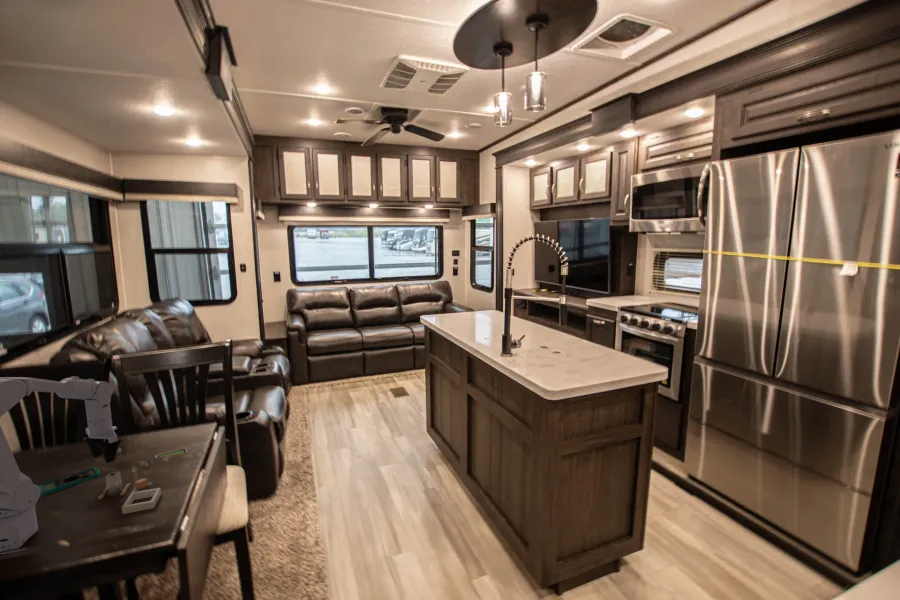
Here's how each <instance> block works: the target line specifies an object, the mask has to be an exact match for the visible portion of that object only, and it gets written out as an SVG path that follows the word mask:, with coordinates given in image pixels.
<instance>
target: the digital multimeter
mask: <svg viewBox="0 0 900 600" xmlns="http://www.w3.org/2000/svg"><path fill="white" fill-rule="evenodd" d="M100 476H101V470H100V468H97V467H90V468H88V469H84V470H82V471H78V472H75V473H72V474H70V475H66V476H63V477H60V478H57V479H54V480H50V481H46V482H43V483H40V484H39V485H37V486H38V487H39V488H40V490H41V494H40V497H39V499H42V498H43V497H44V496H48V495H51V494H53V493H55V492H60V491H62V490H65V489H67V488H70V487H73V486H77V485H78V484H80V483H83V482H85V481H88V480H89V481H90V480H92V479H95V478H97V477H100Z"/></svg>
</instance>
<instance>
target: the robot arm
mask: <svg viewBox="0 0 900 600" xmlns="http://www.w3.org/2000/svg"><path fill="white" fill-rule="evenodd" d="M32 392H38V393H39V392H41V393H55V394H56V395H57V397H59V398H62V399H72V400H73V399H75V400H82V401H84V406H85V414H86V415H85V416H86V421H87V423H86V424H87V427H86V428H85V434H86V435H87V436H84V437H82V441H83V442H84V443H85V444H86V446H87V447H88V449H89V450H90V453H91V455H92V457H93V458H95V459H96V458H99V457H100V456H102V455H103V459H104V461H105V463H106V464H109V463H111V462H115V460H116V459H117V458H116V457H117V452H118V448H119V446H120V444H121V442H122V440H123V439H122V438H121V437H118V435H117V434H116V432H115V430H118V427H117V426H116V425H115V426H113V420H112V411H111V404H110V403H111V402H112V398H111V397H112V395H113V393H114V387H112V385H111V384H110V383H109V382H108V381H104V380H103V381H101V380H100V381H99V380H95V379H94V378H87V379H84V378H80V377H79V376H75V375H74V376H72V375H71V376H70V377H66V378H63V379H61V380H60V381H58V380H57V381H56V380H52V379H51V380H50V379H42V378H36V377H23V376H19V377H18V376H17V377H16V376H14V377H12V376H11V377H9V376H5V377H3V376H2V377H1V376H0V418H1V417H2V416H4V415H5V414H7V412H9V411H10V410H11V409H12V408H13V407H14V406H15V405H17V404H18V403H19V402H20V401H22V399H23V398H24V397H26V396H27V397H28V396H30V395H31V394H32ZM38 486H39V485H37V484H34V482H33V481H32V479H31V477H29V476H27V475H26V474H24V473H23V472H22V471H21V470H20V468H19V465H18V463H17V460H16V459H15V457H14V453H13V451H12V449H11V446H10V445H9V442H8V440H7V438H6V435H5V433H4V430H3V427H2V426H1V425H0V554H4V555H7V553H9V554H12V553H17V552H21V551H26V550H28V548H29V546H28V547H23V548H21V547H22V546H23V545H24V543H25V542H26V541H27V540H28V539H29V538H31V537H32V536H33V535H35V534H36V533H37V532H38V530H39V525H38V519H37V512H36V511H37V509H36V505H37V502H38V500H39V499H40V494H41V490H40V488H39V487H38Z"/></svg>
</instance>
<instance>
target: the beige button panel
mask: <svg viewBox="0 0 900 600" xmlns="http://www.w3.org/2000/svg"><path fill="white" fill-rule="evenodd" d="M152 484H153V481H150V482H148V486H147V487H146V488H144V489H141V490H137V489H136V485H135V486H134V487H133V489H132V490H131V491H130V492H131V493H133V492H139V491H144V490H150V487H151V485H152ZM131 485H132V483H131V482H129V483H126V484H125V485H124V487H123V488H122V491H121V492H120V493H119V496H120V497H122V496H125V494H126V493H127V491H128V490H129V489H130V486H131ZM131 493H130V494H131ZM106 494H107V488H106V487H105V488H104V489H103V490H102V492H101V493H100V494H99V496H98V497H97V500H98V501H100V500H103V499H104V497H105V496H106Z"/></svg>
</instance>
